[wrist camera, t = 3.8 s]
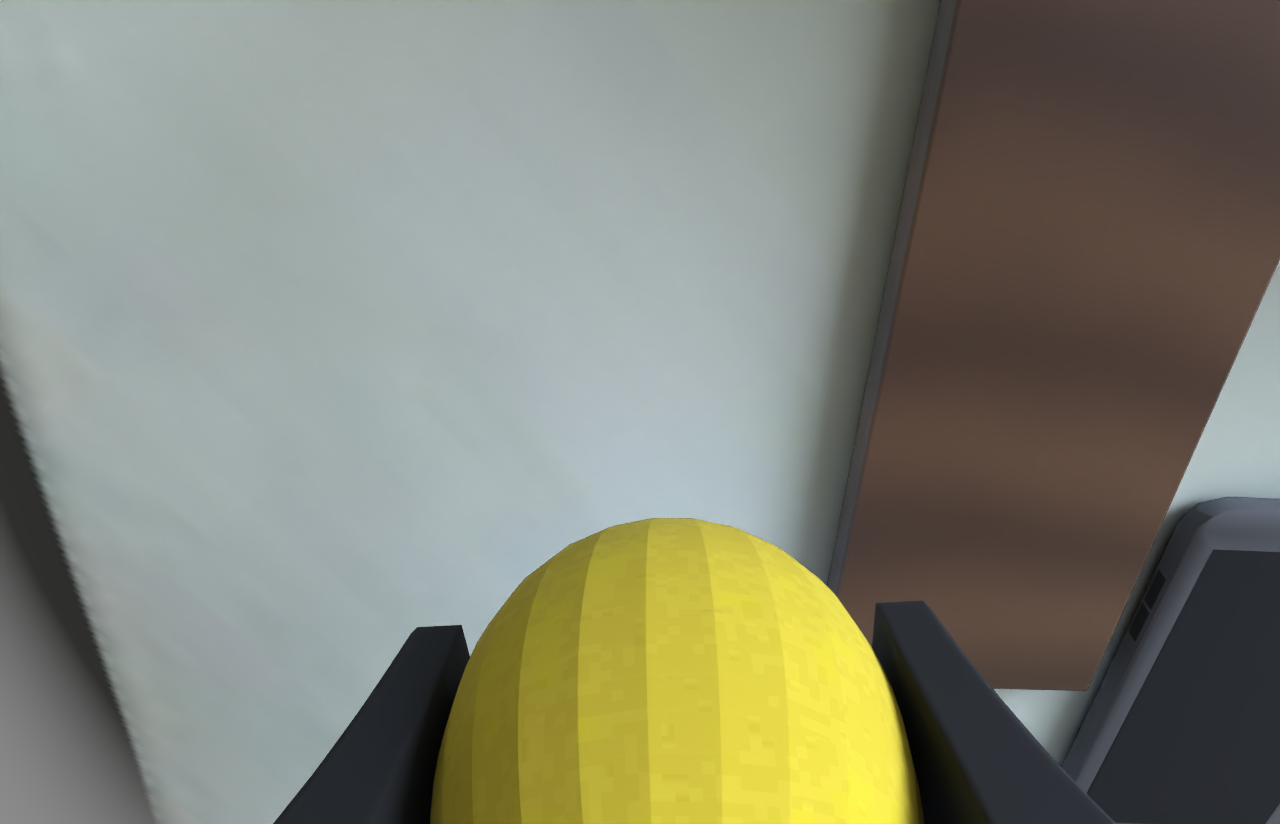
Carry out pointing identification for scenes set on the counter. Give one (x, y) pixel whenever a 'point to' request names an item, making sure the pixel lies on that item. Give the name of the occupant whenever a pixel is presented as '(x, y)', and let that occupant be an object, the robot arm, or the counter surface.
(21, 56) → the counter surface
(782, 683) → the lemon
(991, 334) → the back board
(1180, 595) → the cell phone
